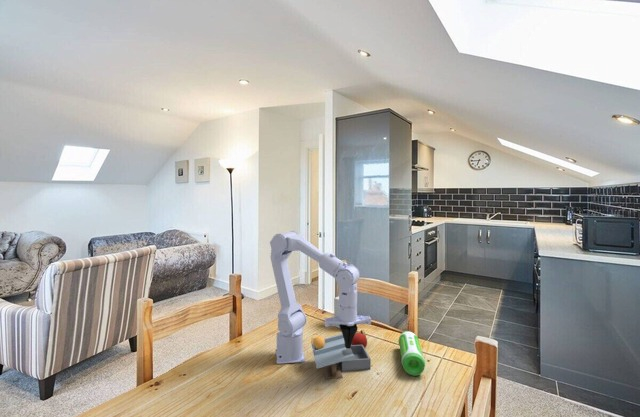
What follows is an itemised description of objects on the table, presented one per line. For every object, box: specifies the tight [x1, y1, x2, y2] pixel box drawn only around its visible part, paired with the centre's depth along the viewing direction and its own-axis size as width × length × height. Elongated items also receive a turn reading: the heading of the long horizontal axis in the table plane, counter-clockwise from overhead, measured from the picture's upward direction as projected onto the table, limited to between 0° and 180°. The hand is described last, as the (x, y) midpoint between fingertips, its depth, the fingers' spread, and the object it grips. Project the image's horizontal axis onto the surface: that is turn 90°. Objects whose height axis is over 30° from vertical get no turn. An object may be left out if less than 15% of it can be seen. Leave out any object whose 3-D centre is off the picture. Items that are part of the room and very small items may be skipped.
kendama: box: [351, 329, 368, 349], centre depth 116 cm, size 8×6×18 cm
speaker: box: [398, 330, 426, 377], centre depth 102 cm, size 18×7×8 cm, turn 169°
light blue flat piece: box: [310, 333, 354, 369], centre depth 97 cm, size 12×13×2 cm
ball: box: [312, 335, 325, 349], centre depth 100 cm, size 4×4×4 cm
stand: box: [323, 362, 344, 380], centre depth 98 cm, size 5×10×5 cm, turn 8°
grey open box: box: [338, 345, 372, 373], centre depth 102 cm, size 10×10×4 cm
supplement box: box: [333, 296, 340, 329], centre depth 130 cm, size 7×7×13 cm
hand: (347, 346), depth 94 cm, fingers closed
